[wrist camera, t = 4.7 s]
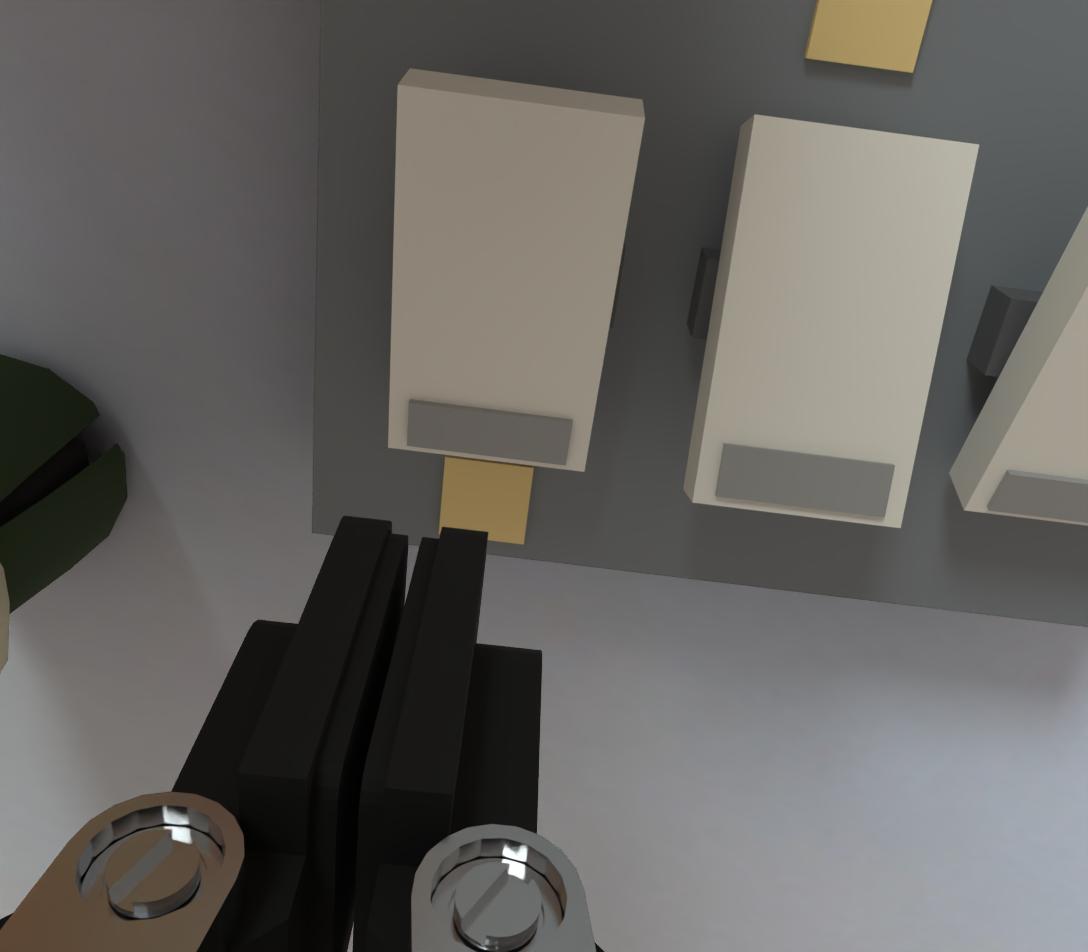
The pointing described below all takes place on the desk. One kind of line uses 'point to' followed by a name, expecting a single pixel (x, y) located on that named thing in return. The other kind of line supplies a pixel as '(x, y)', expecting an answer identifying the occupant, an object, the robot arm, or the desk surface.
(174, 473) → the desk surface
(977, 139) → the console
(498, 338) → the rocker
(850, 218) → the block
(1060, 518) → the rocker
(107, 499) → the character mug
